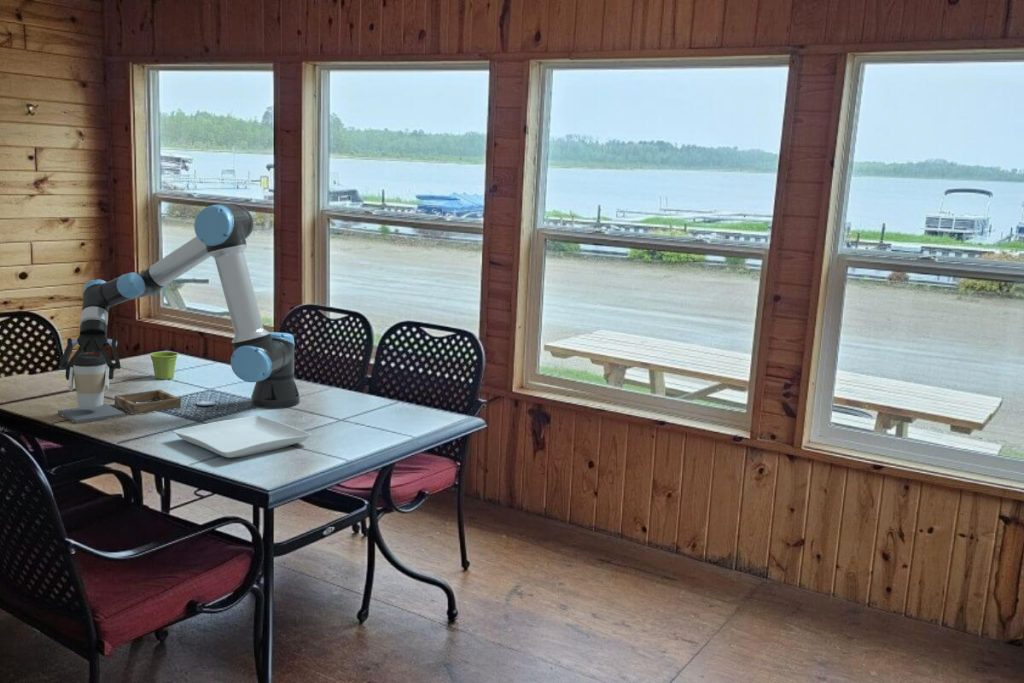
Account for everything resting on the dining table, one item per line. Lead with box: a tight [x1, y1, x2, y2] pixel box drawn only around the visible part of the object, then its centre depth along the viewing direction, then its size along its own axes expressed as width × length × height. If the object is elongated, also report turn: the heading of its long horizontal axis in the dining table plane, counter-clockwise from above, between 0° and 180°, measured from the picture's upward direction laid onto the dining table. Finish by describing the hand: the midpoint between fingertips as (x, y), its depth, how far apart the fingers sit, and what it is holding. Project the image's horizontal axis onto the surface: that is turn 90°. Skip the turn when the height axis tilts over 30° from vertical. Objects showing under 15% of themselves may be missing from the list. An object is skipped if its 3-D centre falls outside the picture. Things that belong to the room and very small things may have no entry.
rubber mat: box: [57, 403, 126, 424], centre depth 270 cm, size 14×14×1 cm
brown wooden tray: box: [114, 389, 182, 415], centre depth 282 cm, size 14×14×3 cm
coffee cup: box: [73, 353, 107, 407], centre depth 269 cm, size 9×9×15 cm
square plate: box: [172, 415, 312, 459], centre depth 250 cm, size 27×27×4 cm
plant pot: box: [149, 351, 179, 380], centre depth 320 cm, size 9×9×9 cm
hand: (88, 388), depth 266 cm, fingers closed on coffee cup, 9 cm apart
